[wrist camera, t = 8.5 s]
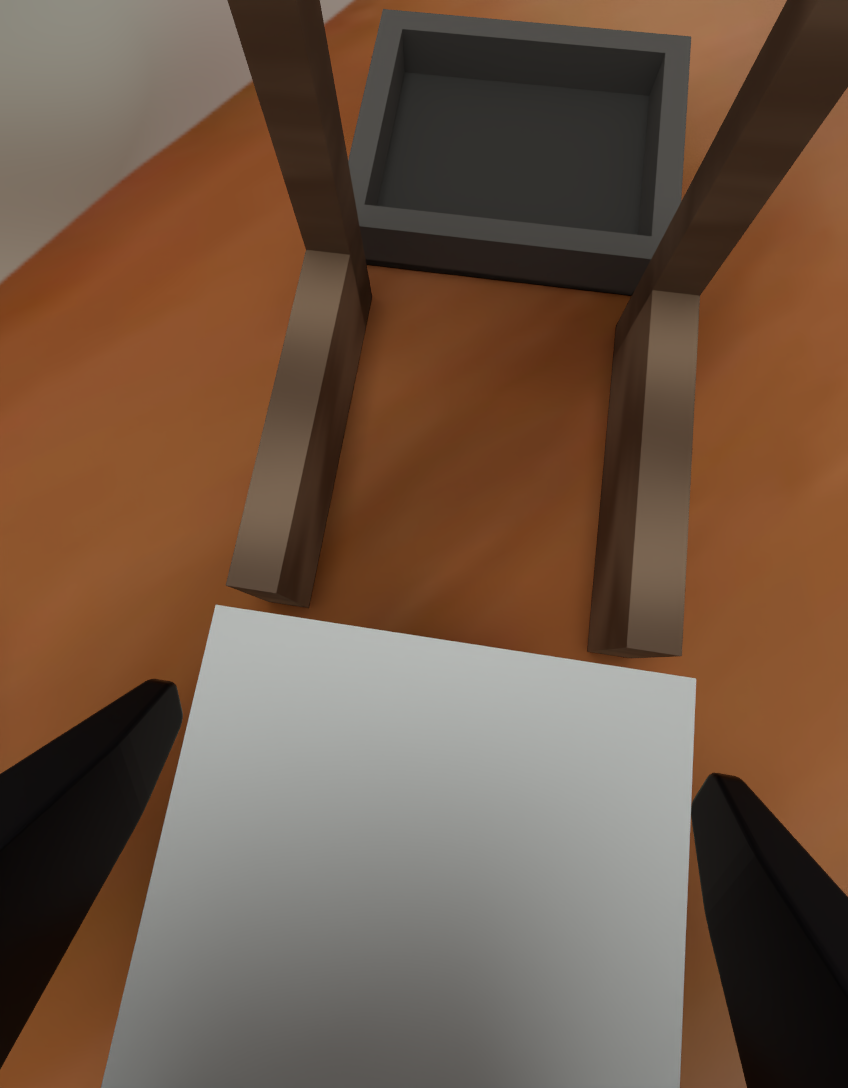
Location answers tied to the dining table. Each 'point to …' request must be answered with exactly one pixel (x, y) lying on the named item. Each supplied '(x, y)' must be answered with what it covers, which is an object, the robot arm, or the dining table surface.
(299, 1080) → the block
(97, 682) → the dining table surface
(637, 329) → the wooden gate frame
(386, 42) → the box
